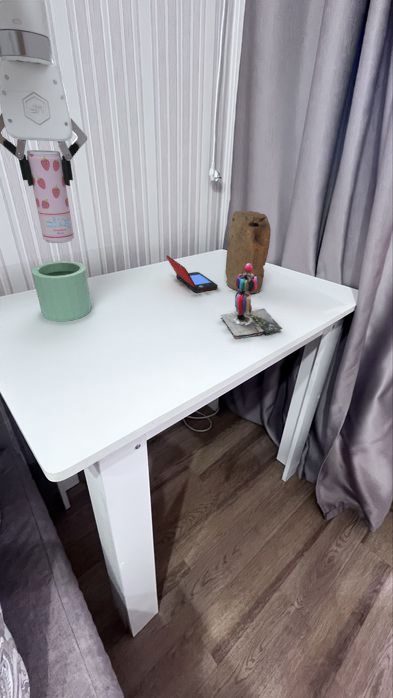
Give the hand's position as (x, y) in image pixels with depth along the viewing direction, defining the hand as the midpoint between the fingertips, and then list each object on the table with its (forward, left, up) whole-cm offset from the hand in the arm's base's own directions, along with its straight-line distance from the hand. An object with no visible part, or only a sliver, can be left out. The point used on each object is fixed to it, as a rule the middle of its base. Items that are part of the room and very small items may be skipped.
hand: (49, 183), depth 60 cm
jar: (-1, +4, -27) cm, 27 cm away
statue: (+36, -17, -27) cm, 48 cm away
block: (+46, +3, -27) cm, 54 cm away
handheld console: (+33, +10, -27) cm, 44 cm away
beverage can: (0, 0, -10) cm, 10 cm away
